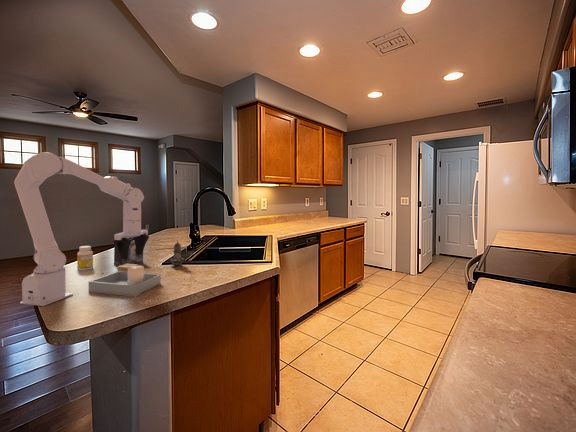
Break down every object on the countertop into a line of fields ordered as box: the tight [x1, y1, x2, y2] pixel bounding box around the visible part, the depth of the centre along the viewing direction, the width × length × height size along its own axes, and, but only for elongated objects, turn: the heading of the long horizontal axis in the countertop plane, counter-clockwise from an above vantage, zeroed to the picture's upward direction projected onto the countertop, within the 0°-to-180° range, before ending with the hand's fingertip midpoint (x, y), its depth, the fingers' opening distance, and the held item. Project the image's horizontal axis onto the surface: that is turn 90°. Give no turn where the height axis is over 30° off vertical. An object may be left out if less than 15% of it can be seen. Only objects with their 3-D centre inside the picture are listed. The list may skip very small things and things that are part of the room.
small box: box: [113, 240, 144, 267], centre depth 124 cm, size 11×6×10 cm, turn 149°
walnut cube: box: [116, 264, 139, 272], centre depth 104 cm, size 5×5×5 cm
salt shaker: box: [169, 241, 185, 269], centre depth 123 cm, size 6×6×12 cm
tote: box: [88, 271, 162, 298], centre depth 93 cm, size 13×17×4 cm
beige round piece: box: [128, 265, 145, 285], centre depth 93 cm, size 5×5×7 cm
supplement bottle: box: [76, 245, 94, 271], centre depth 113 cm, size 5×5×10 cm
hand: (132, 256), depth 99 cm, fingers open, 7 cm apart
